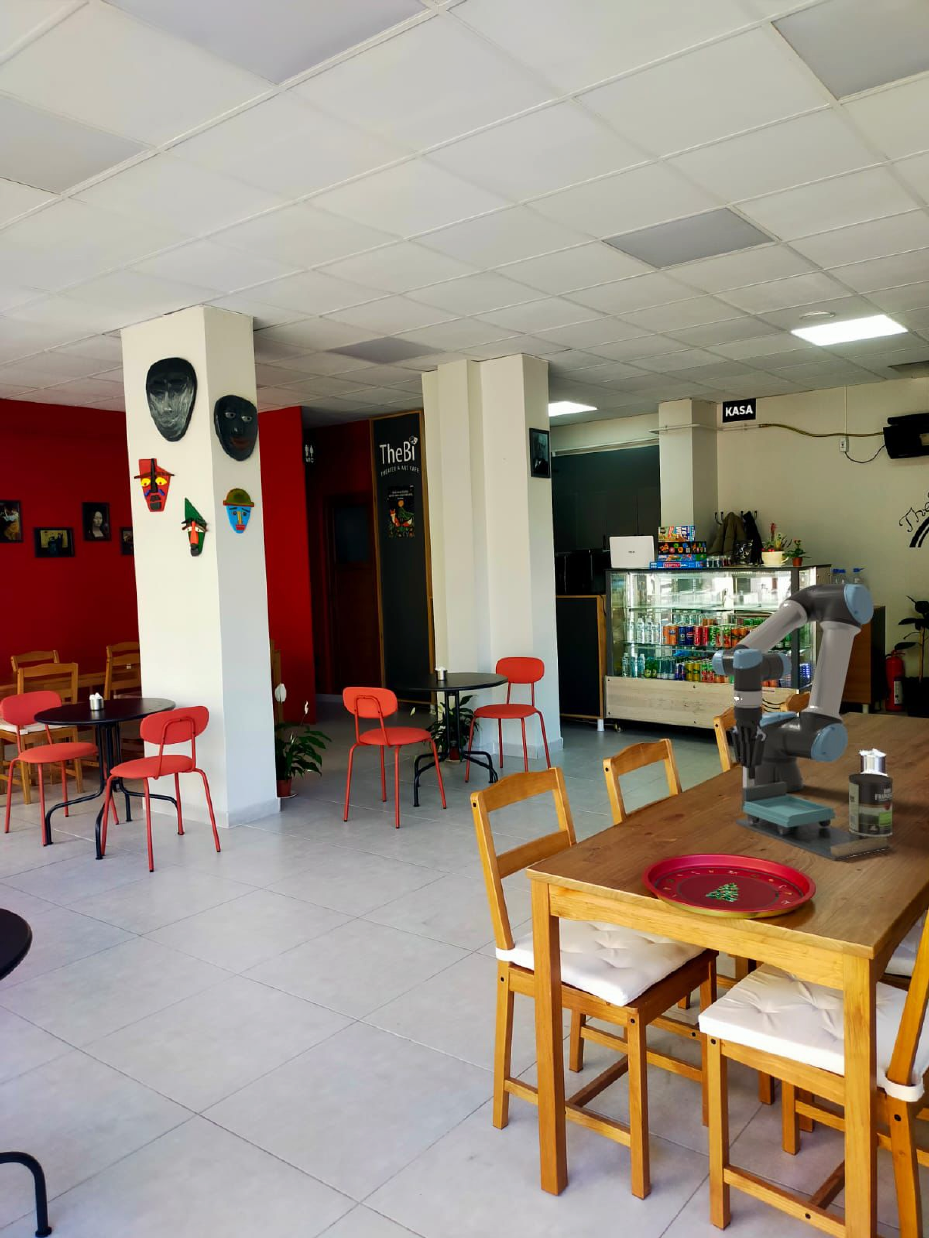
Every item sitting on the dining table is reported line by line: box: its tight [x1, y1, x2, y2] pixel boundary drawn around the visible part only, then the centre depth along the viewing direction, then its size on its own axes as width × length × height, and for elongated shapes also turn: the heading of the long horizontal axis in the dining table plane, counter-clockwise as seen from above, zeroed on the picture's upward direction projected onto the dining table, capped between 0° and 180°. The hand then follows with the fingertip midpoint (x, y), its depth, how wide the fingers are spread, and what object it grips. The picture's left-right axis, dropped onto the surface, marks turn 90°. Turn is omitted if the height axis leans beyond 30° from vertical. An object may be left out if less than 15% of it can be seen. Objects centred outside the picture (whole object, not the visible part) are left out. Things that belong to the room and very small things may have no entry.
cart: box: [741, 782, 836, 835], centre depth 233 cm, size 18×16×8 cm
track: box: [734, 817, 891, 861], centre depth 227 cm, size 34×18×3 cm, turn 24°
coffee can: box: [848, 772, 894, 838], centre depth 228 cm, size 10×10×14 cm
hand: (748, 789), depth 246 cm, fingers closed
